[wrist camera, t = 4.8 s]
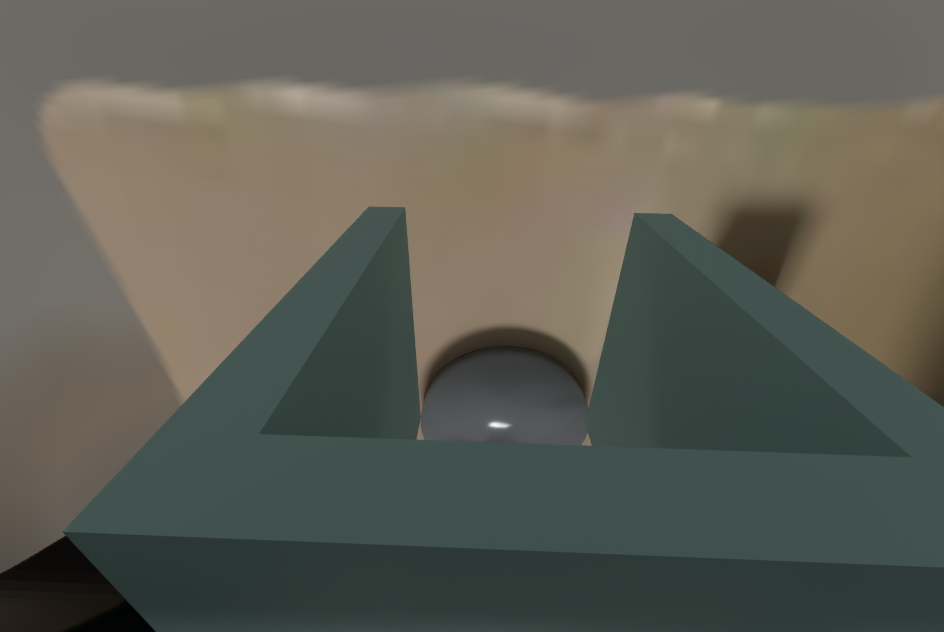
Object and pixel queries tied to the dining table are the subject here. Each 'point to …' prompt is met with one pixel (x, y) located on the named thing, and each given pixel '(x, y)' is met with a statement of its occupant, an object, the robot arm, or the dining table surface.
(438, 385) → the grey domed disc
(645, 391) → the teal arch
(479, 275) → the dining table surface
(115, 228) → the dining table surface
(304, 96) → the dining table surface
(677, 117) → the dining table surface
